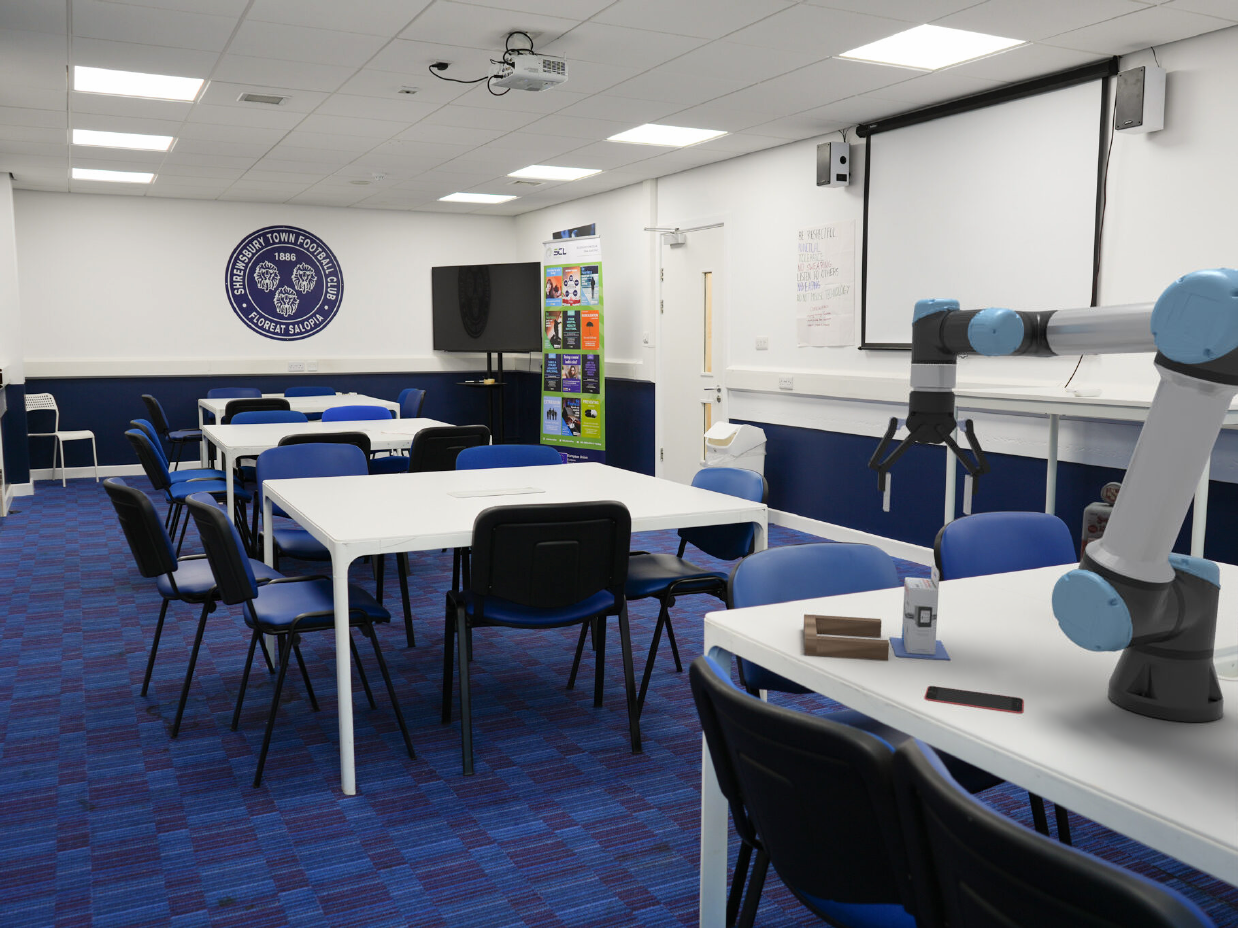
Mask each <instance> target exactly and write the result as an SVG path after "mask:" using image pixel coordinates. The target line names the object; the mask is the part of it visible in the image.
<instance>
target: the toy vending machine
mask: <svg viewBox="0 0 1238 928" xmlns="http://www.w3.org/2000/svg"><path fill="white" fill-rule="evenodd" d="M1121 485H1122V483H1120V482H1116V481H1115V482H1114V481H1113V482H1108V483H1107V484H1106V485H1104V486H1103V487H1102V488H1101V491H1100V498H1101V500H1103V501H1104V502H1096V501H1094V502H1092V503H1090V504H1089V505H1087V506H1086V507H1085V508H1084V509H1083V510H1084V511H1083V518H1082V529H1081V530H1082V532H1081V546H1080V547H1081V548H1080V559H1079V560H1080V561H1079V563H1080V562H1081V559H1082V556H1083V554H1084V551H1085V548H1086V546H1087V545H1088V544H1089V543H1090V542H1093V541H1095V540H1098V539H1101V538H1102V537H1103V534H1104V531H1105V529H1106V526H1107V523H1108V521H1109V518H1110V515H1111V512H1112V510H1113V507H1114V504H1115V502H1116V499H1117V496H1118V493H1119V491H1120V488H1121Z"/></svg>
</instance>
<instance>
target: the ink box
mask: <svg viewBox="0 0 1238 928" xmlns="http://www.w3.org/2000/svg"><path fill="white" fill-rule="evenodd" d="M930 576H931V577H930V578H923V577H922V578H921V577H907V576H906V577H905V578H904V592H903V608H902V609H903V610H902V627H901V628H902V629H901V638H902V641H903V644H904V646H905V649H906V652H907V653H912V654H926V655H935V645H936V640H937V623H938V605H939V589H940V587H939V586H940V571H939V569H938V568H937V566H936V565H935V563H934V562H932V563H931V573H930Z"/></svg>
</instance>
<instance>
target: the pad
mask: <svg viewBox="0 0 1238 928" xmlns="http://www.w3.org/2000/svg"><path fill="white" fill-rule="evenodd" d="M889 641H890V645H891V647H892V650H893V654H894V656H895V657H896V658H908V659H909V658H910V659H923V660H925V659H926V660H937V661H938V660H940V661H950V660H951V657H950V656H949V653H948V652H947V650H946V648H945V647H944V644H943V642H942V640H939V639H936V645H935V655H926V654H912V653H907V652H906V649H905V646H904V644H903V641H902V637H893V636H892V637H891V636H890V637H889Z"/></svg>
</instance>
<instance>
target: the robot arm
mask: <svg viewBox="0 0 1238 928" xmlns="http://www.w3.org/2000/svg"><path fill="white" fill-rule="evenodd" d="M960 306H961V304H960V301H958V300H957V299H953V298H924V299H919V300H918V301H916V302H915V305H914V310H913V317H912V323H911V328H912V330H911V331H912V333H911V360H910V379H909V387H910V388H912V389H913V390H910V392H909V395H908V397H909V398H908V413H907V414H908V415H907V417H906V418H905V419H904V418H900V417H899V418H898V417H895V416H890V417H889V419H888V420H889V421H888V425H887V429H886V431H885V433H884V435H883V436H882V438H881V440H880V441H879V444H878V445H877V448H876V449H875V451H874V453H873V454H872V456H871V457H870V460H869V461H868V463H867V466H868V467H869V469H870V470H873V471H875V472H877V473H878V474H877V475H878V476H877V489H878V491H879V492H883V507H882V510H883V512H890V497H891V478H892V477H891V476H892V475H891V473H890V472H888V471H889V470H890V468H892V466H893V465H894V464H896V462H897V461H898V460H900V459H901V458H902V456H903V455H904V454H905V453H906V452H907V451H908V450H909V449H910V448H911V447H912V446H913V445H914V444H915V443H916V442H917V443H919V444H921V445H927V444H933V445H940V444H943V443H944V444H945V445H946V446H947V447H948V448H949V449H950V451H952V453H953V455H955V457H956V458H957V459H958V460H959V461H960V462H961V464H962V465H963V466H964V468H965V469H966V470H967V471H968V472H969V474H965V475H964V476H965V477H964V490H963V492H964V493H963V509H962V510H963V511H962V512H963V513H964V514H965V515H968V516H969V515H971V512H972V496H977V495H978V493H979V484H980V483H979V482H980V477H981V476H982V475H985V474H990V473H991V471H992V468H991V465H990V464H989V462H988V460H987V457H986V455H985V454H984V451H983V449H982V447H981V444H980V443H979V440H978V438H977V436H976V434H975V430H974V429H975V428H974V420H973V419H971V418H967V417H966V418H964V419H957V420H956V417H955V406H956V405H955V404H956V403H955V401H956V393H955V392H954V391H953V389H955V388H956V387H957V386H956V385H957V383H956V381H957V364H958V363H957V360H958V356H975V357H976V356H977V357H978V356H980V357H981V356H983V357H989V358H990V357H1033V358H1034V357H1035V358H1048V359H1049V358H1053V357H1059V356H1084V355H1085V356H1086V355H1114V354H1117V355H1118V354H1120V355H1121V354H1143V353H1145V354H1147V353H1148V354H1149V353H1155V354H1156V355H1155V357H1154V359H1153V361H1152V362H1153V366H1154V367H1155V369H1156V370H1157V371H1156V372H1158V374H1159V376H1160V380H1159V382H1158V385H1157V389H1156V391H1155V394H1154V396H1153V398H1152V401H1151V404H1150V407H1149V409H1148V413H1147V415H1146V418H1145V421H1144V423H1143V426H1142V428H1141V432H1140V433H1139V437H1138V439H1137V442H1136V445H1135V446H1134V447H1135V448H1134V450H1133V453H1132V455H1131V458H1130V461H1129V464H1128V466H1127V470H1126V472H1125V475H1124V477H1123V480H1122V482H1121V484H1122V485H1121V488H1120V491H1119V493H1118V496H1117V499H1116V502H1115V504H1114V507H1113V510H1112V512H1111V515H1110V518H1109V521H1108V523H1107V526H1106V529H1105V531H1104V534H1103V537H1102V538H1101V539H1098V540H1095V541H1093V542H1090V543H1089V544H1088V545H1087V546H1086V548H1085V551H1084V554H1083V556H1082V559H1081V562H1080V561H1079V564H1078V568H1075V569H1072V570H1070V571H1068V572H1066V573H1064V574H1063V575H1061V576H1060V577H1059V578H1058V579H1057V580H1056V582H1055V584H1054V586H1053V589H1052V592H1051V593H1052V594H1051V607H1052V612H1053V613H1052V614H1053V616H1054V618H1055V619H1056V620H1057V621H1058V627H1059V628H1060V630H1061V632H1063V634H1064V635H1065V636H1066V638H1067V639H1069V640H1070V642H1072V643H1074V644H1075V645H1076V646H1078V647H1080V648H1082V649H1083V650H1087V651H1090V652H1096V653H1101V652H1102V653H1103V652H1111V653H1112V652H1113V653H1115V652H1117V651H1118V652H1120V651H1122V652H1121V655H1120V656H1119V659H1118V661H1117V663H1116V665H1115V668H1114V669H1113V672H1112V674H1111V676H1110V678H1109V681H1108V688H1107V697H1108V698H1109V700H1110V701H1111V702H1113V703H1114V704H1116V705H1118V706H1119V707H1121V708H1123V709H1126V710H1128V711H1130V712H1131V711H1132V712H1134V713H1137V714H1140V715H1145V716H1148V717H1152V718H1157V719H1162V720H1166V721H1167V720H1168V721H1174V722H1176V721H1177V722H1188V723H1189V722H1190V723H1199V722H1200V723H1202V722H1210V721H1216V720H1218V719H1220V718H1222V717H1223V714H1224V712H1223V711H1224V697H1223V692H1222V689H1221V685H1220V682H1219V678H1218V675H1217V671H1216V667H1215V665H1214V654H1215V653H1214V652H1215V642H1216V633H1217V632H1216V630H1217V620H1218V608H1219V602H1220V601H1219V600H1220V598H1219V597H1220V590H1221V588H1222V587H1221V586H1222V585H1221V584H1220V582H1221V581H1220V579H1221V577H1220V575H1221V569H1220V568H1219V565H1218V564H1217V563H1216V562H1214V561H1212V560H1210V559H1206V558H1203V557H1199V556H1193V555H1187V554H1183V553H1182V554H1181V553H1177V552H1172V550H1173V548H1174V546H1175V543H1176V540H1177V538H1178V536H1179V533H1180V531H1181V528H1182V525H1183V523H1184V520H1185V518H1186V517H1187V513H1188V510H1189V509H1190V506H1191V503H1192V501H1193V499H1194V496H1195V493H1196V491H1197V488H1198V485H1199V483H1200V481H1201V478H1202V476H1203V473H1204V471H1205V468H1206V466H1207V464H1208V461H1209V458H1210V457H1211V453H1212V450H1213V448H1214V447H1215V443H1216V441H1217V438H1218V437H1219V434H1220V432H1221V429H1222V426H1223V423H1224V422H1225V418H1226V417H1227V414H1228V411H1229V408H1230V406H1231V404H1232V401H1233V398H1235V396H1237V395H1238V269H1236V268H1227V267H1219V268H1218V267H1217V268H1207V269H1206V268H1205V269H1200V270H1195V271H1192V272H1189V273H1187V274H1184V275H1183V276H1181V277H1180V278H1177V279H1176V280H1174V281H1173V282H1172V283H1171V284H1170V285H1168V286H1167V287H1166V289H1165V290H1163V292H1162V293H1161V294H1160V296H1159V297H1158V299H1157V301H1149V302H1148V301H1147V302H1136V303H1127V304H1126V303H1124V304H1115V305H1101V306H1100V305H1099V306H1090V307H1080V308H1079V307H1078V308H1066V309H1065V308H1063V309H1054V310H1052V309H1051V310H1042V311H1041V310H1039V311H1029V310H1028V311H1025V310H1013V309H1010V308H1002V307H987V308H979V309H978V308H977V309H976V308H975V309H963V310H962V309H961V308H960ZM903 426H905V427H906V428H907V430H908V432H909V434H908V435H907V436H905V438H904V439H903V441H902V442H901V443H900V444H899V445H898V446H897V447H896V448H895V449H893V451H892V452H891V453H890V455H889V456H888V457H886V459H884V461H883V462H881V464H880V461H881V460H882V458H883V456H884V454H885V452H886V451H887V449H888V447H889V445H890V444H891V442H892V440H893V439H894V437H895V434H896V432H897V431H900V430H901V429H902V427H903ZM957 427H958V428H959V430H960V431H961V432H962V433H964V435H965V437H966V440H967V442H968V445H969V447H970V449H971V450H972V453H973V455H974V457H975V460H976V461H977V464H978V466H977V467H976V465H975V464H974V463H973V462H972V461H971V459H970V458H969V457H968V455H967V454H966V453H965V452H964V451H963V449H962V448H961V447H960V446H959V444H957V442H956V441H955V439H954V438H953V437H952V435H951V434H952V433H953V432H954V431H955V429H956V428H957Z"/></svg>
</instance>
